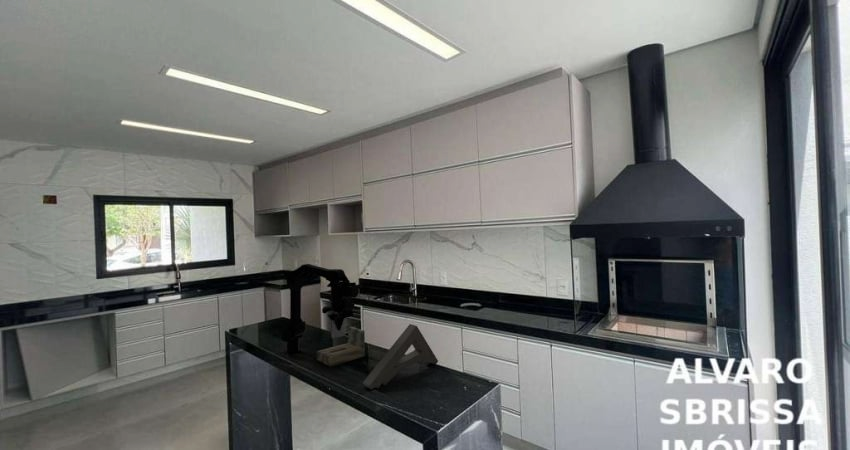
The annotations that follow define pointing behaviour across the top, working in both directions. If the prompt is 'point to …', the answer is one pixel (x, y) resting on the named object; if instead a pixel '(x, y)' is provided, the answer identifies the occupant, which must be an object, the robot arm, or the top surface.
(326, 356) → the post base
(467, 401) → the top surface
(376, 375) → the wall bracket
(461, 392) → the top surface
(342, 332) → the bracket plate
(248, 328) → the top surface
